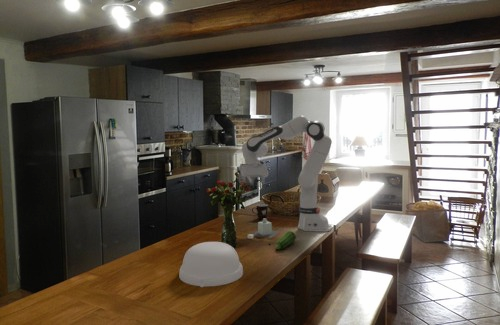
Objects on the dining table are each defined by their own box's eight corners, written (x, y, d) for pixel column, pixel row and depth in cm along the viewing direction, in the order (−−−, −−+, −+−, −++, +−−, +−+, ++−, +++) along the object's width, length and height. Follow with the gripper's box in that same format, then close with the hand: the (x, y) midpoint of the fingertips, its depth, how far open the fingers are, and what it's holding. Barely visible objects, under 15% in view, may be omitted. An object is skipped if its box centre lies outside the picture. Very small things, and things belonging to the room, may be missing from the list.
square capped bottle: (266, 231, 253) (266, 217, 252) (271, 233, 248) (271, 219, 247) (258, 233, 250) (257, 218, 250) (263, 235, 245) (262, 220, 244)
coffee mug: (268, 217, 296) (268, 204, 295) (267, 219, 287) (267, 206, 286) (253, 217, 297) (252, 204, 296) (252, 219, 288) (251, 206, 287)
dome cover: (192, 260, 203) (191, 234, 202) (248, 263, 198) (248, 236, 197) (168, 285, 172) (167, 254, 171) (235, 289, 167) (234, 257, 165)
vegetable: (294, 228, 231) (279, 237, 214) (300, 239, 230) (284, 249, 213) (284, 232, 235) (268, 241, 218) (290, 243, 234) (274, 253, 217)
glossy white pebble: (254, 238, 241) (254, 234, 241) (252, 240, 238) (252, 236, 237) (248, 237, 242) (248, 234, 242) (246, 239, 239) (246, 235, 239)
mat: (279, 232, 254) (279, 231, 254) (271, 238, 239) (271, 237, 239) (259, 230, 259) (259, 229, 259) (249, 236, 244) (249, 235, 244)
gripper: (241, 161, 258) (246, 179, 252) (266, 162, 269) (272, 180, 263) (237, 165, 262) (241, 184, 256) (262, 167, 273) (267, 184, 267)
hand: (257, 182), depth 260 cm, fingers open, 8 cm apart
